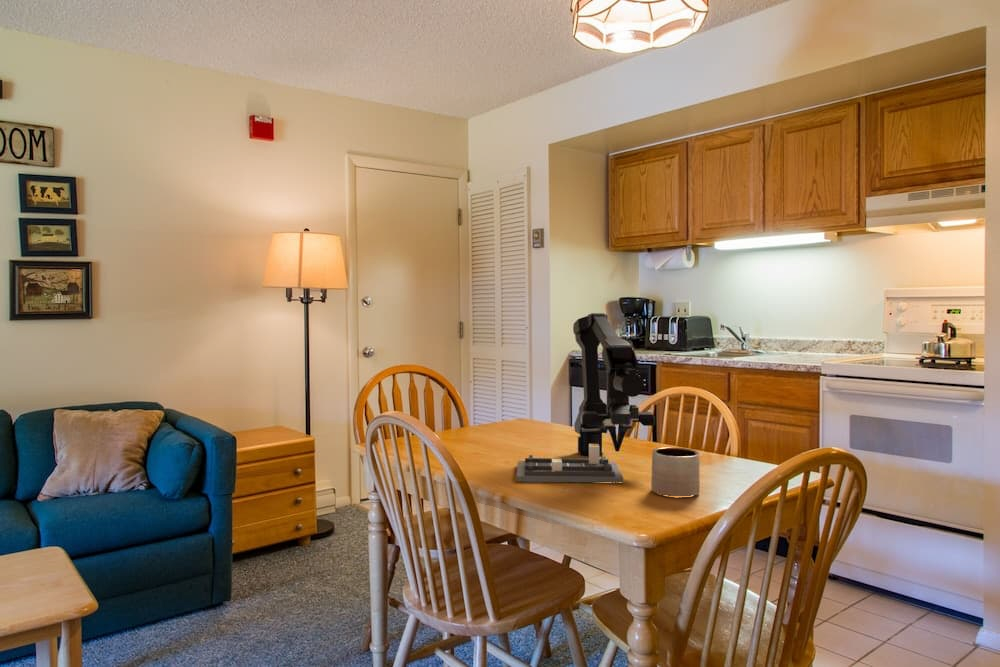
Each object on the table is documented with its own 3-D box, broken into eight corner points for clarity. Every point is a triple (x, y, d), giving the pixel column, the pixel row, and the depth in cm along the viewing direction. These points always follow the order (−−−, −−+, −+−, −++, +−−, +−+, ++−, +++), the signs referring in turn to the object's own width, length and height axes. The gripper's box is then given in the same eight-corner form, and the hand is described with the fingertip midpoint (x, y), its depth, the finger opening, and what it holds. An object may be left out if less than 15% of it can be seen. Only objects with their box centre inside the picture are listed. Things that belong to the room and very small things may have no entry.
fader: (597, 462, 179) (598, 442, 179) (599, 466, 175) (599, 445, 175) (588, 462, 179) (588, 442, 179) (589, 465, 176) (590, 445, 175)
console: (615, 467, 181) (615, 451, 181) (623, 483, 165) (623, 465, 165) (517, 466, 182) (517, 449, 182) (516, 482, 166) (516, 463, 166)
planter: (653, 498, 153) (653, 456, 153) (649, 485, 164) (650, 446, 163) (702, 500, 152) (703, 457, 151) (695, 487, 162) (696, 447, 162)
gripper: (584, 395, 169) (583, 457, 169) (659, 396, 168) (659, 458, 169) (580, 389, 180) (580, 448, 180) (651, 390, 179) (651, 449, 180)
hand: (617, 451), depth 177 cm, fingers closed
